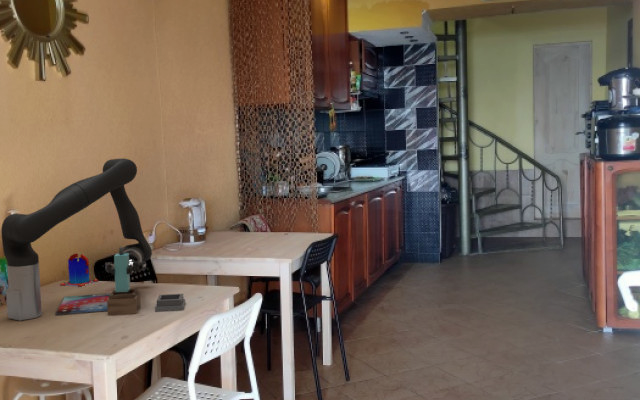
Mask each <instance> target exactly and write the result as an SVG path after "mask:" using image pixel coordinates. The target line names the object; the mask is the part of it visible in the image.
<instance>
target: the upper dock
mask: <svg viewBox="0 0 640 400" xmlns="http://www.w3.org/2000/svg"><path fill="white" fill-rule="evenodd" d="M110 293H111V294H110V295H109V298H108V300H107V309H108V312H107V316H118V315H119V316H121V315H136V314H137V313H138V312H139V310H140V308H141V305H142V304H141V292H140V291H139V289H138V288H133V289H131V288H130V290H129V291H128V292H115V289H113V290H112V291H111V292H110Z"/></svg>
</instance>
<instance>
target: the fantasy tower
mask: <svg viewBox="0 0 640 400" xmlns="http://www.w3.org/2000/svg"><path fill="white" fill-rule="evenodd" d="M67 263H68V264H67V269H68V279H69V280H68V281H67V282H65V281H64V282H61V283H60V284H59V286H60V287H66V286H68V287H77V286H78V287H77V288H83V287H82V286H85V284H88V285H90V284H89V283H91V284H93V283H97V282H99V281H100V280H98V279H97V278H93V279H92V280H91V279H90V269H89V266H90V262H89V258H87V257H86V256H85V255H84V254H80V257H79V253H73V254H72V255H70V256H69V257H68V259H67ZM85 287H86V286H85Z"/></svg>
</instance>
